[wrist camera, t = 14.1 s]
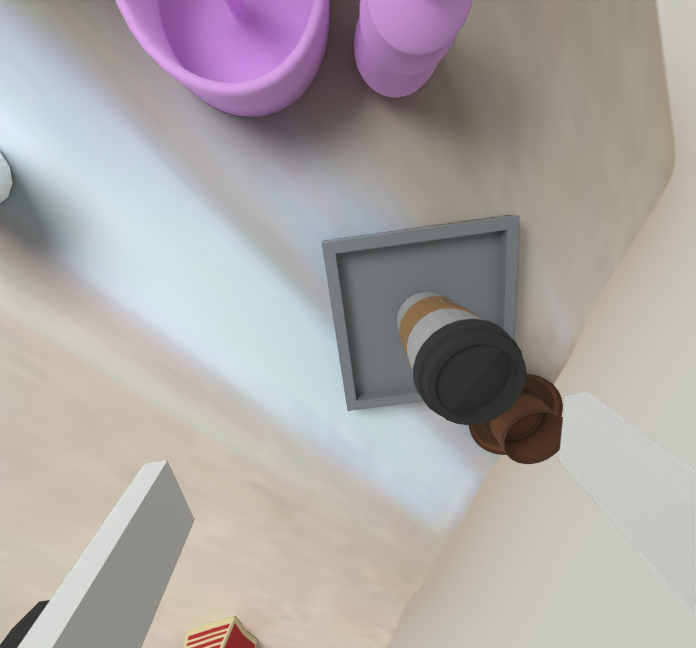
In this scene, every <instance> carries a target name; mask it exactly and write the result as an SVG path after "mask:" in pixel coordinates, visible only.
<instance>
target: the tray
mask: <svg viewBox="0 0 696 648" xmlns="http://www.w3.org/2000/svg"><path fill="white" fill-rule="evenodd" d="M519 217H520V216H513V215H505V216H498V217H491V218H484V219H476V220H469V221H462V222H455V223H447V224H440V225H433V226H426V227H418V228H411V229H404V230H397V231H390V232H382V233H375V234H368V235H361V236H353V237H346V238H339V239H332V240H324V241H322V247H323V253H324V260H325V266H326V273H327V279H328V286H329V292H330V299H331V305H332V312H333V319H334V325H335V332H336V338H337V345H338V351H339V358H340V364H341V371H342V377H343V384H344V390H345V397H346V403H347V410H348V411H351V410H358V409H365V408H373V407H380V406H387V405H395V404H402V403H409V402H417V401H424V400H423V399H422V397H421V396H420V395H419V393H418V392H417V390H416V387H415V384H414V381H413V371H412V369H411V367H410V365H409V362H408V359H407V356H406V353H405V350H404V347H403V344H402V341H401V338H400V333H399V330H398V327H397V315H398V311H399V309H400V307H401V306H402V304H403V303H404V302H405V301H406V300H407V299H408V298H410V297H411V296H413V295H415V294H418V293H421V292H433V293H436V294H439V295H441V296H443V297H445V298H447V299H450V300H451V301H453V302H455V303H457V304H458V305H460V306H462V307H464V308H466V309H467V310H469V311H471V312H473V313H474V314H476V315H478V316H479V317H480V318H481V319H483V320H487V321H489V322H492V323H494V324H496V325H498V326H500V327H501V328H502V329H503V330H504V331H506V332H507V333H508V334H509V336H510V337H511V338H512V339H514V327H515V305H516V283H517V261H518V239H519Z"/></svg>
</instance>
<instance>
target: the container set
mask: <svg viewBox="0 0 696 648" xmlns="http://www.w3.org/2000/svg"><path fill="white" fill-rule="evenodd" d="M115 1H116V4H117V6H118V8H119V10H120V11H121V13H122V15H123V17H124V19H125V21H126V23H127V25H128V27H129V29H130V30H131V32H132V33H133V35H134V36H135V38H136V39H137V40H138V42H139V43H140V45H141V46H142V47H143V49H144V50H145V51H146V52H147V53H148V54H149V55H150V56H151V57H152V58H153V59H154V61H155V62H156V63H157V64H158V65H159V66H160V67H161V68H162V69H164V70H165V71H166V72H167V73H169V74H170V75H171V76H172V77H174V78H175V79H176V80H177V81H179V82H180V83H181V84H182V85H184V86H185V87H186V88H187V89H189V90H190V91H191V92H192V93H194V94H195V95H196V96H198V97H199V98H200V99H202V100H203V101H204V102H206V103H207V104H208V105H210V106H212V107H214V108H216V109H218V110H221V111H223V112H225V113H228V114H232V115H236V116H240V117H261V116H266V115H271V114H274V113H276V112H278V111H281V110H283V109H285V108H287V107H288V106H290V105H291V104H292V103H294V102H295V101H296V100H298V99H299V98H300V97H301V96H302V95H303V94H304V92H305V91H306V90H307V89H308V88H309V87H310V85H311V84H312V82H313V80H314V79H315V77H316V75H317V73H318V71H319V70H320V67H321V64H322V62H323V59H324V56H325V53H326V49H327V43H328V36H329V0H115ZM471 3H472V0H361V1H360V16H359V19H358V22H357V25H356V30H355V35H354V54H355V61H356V64H357V67H358V70H359V72H360V74H361V76H362V78H363V79H364V81H365V82H366V83H367V84H368V86H370V87H371V88H372V89H373V90H374V91H376V92H377V93H379V94H381V95H384V96H388V97H403V96H407V95H409V94H412V93H414V92H415V91H417V90H418V89H420V88H421V87H422V86H423V85H424V84H425V83H426V82H427V81H428V79H429V78H430V77H431V75H432V74H433V72H434V71H435V69H436V67H437V64H438V62H439V61H440V60H441V59H442V58H443V57H444V56H445V55H446V54H447V52H448V51H449V49H450V48H451V46H452V45H453V42H454V40H455V38H456V36H457V33H458V31H459V30H460V28H461V27H462V25H463V24H464V22H465V20H466V18H467V15H468V13H469V11H470V7H471Z"/></svg>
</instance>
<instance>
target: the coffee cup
mask: <svg viewBox="0 0 696 648" xmlns="http://www.w3.org/2000/svg"><path fill="white" fill-rule="evenodd" d="M397 327H398V330H399V333H400V338H401V341H402V344H403V347H404V350H405V353H406V356H407V359H408V362H409V365H410V367H411V369H412V371H413V381H414V384H415V387H416V390H417V392H418V393H419V395H420V396H421V397H422V399H423V400H424V402H425V403H426V404H427V406H428V407H429V408H430V409H431V410H433V411H434V412H435V413H437V414H438V415H440V416H442V417H444V418H445V419H446V420H449V421H451V422H454V423H457V424H464V425H475V424H482V423H485V422H488V421H491V420H494V419H496V418H497V417H499V416H501V415H502V414H504V413H505V412H507V411H508V410H509V409H510V408H511V407H512V406H513V405H514V404H515V403H516V401H517V400H518V398H519V397H520V395H521V394H522V391H523V388H524V386H525V383H526V372H527V371H526V367H525V362H524V359H523V357H522V353H521V350H520V349H519V347H518V345H517V344H516V342H515V340H514V339H512V338H511V337H510V336H509V334H508V333H507V332H506V331H504V330H503V329H502V328H501V327H500V326H498V325H496V324H494V323H492V322H489V321H487V320H483V319H481V318H480V317H479V316H478V315H476V314H474V313H473V312H471V311H469V310H467V309H466V308H464V307H462V306H460V305H458V304H457V303H455V302H453V301H451V300H450V299H447V298H445V297H443V296H441V295H439V294H436V293H433V292H421V293H418V294H415V295H413V296H411V297H410V298H408V299H407V300H406V301H405V302H404V303H403V304H402V306H401V307H400V309H399V311H398V315H397Z"/></svg>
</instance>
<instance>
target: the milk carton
mask: <svg viewBox="0 0 696 648" xmlns="http://www.w3.org/2000/svg"><path fill="white" fill-rule="evenodd" d="M256 644H257V640H256V639H255V638H254V637H253V636H252V635H250V634H249V633H248V632H247V631H246V630H245V629H244V628H243V626H242V625H241V623H240V622H239V621H238V619H237V618H236V616H233V617H230V618H226V619H223V620H220V621H216V622H213V623H210V624H207V625H204V626H201V627H198V628H195V629H192V630H189V631H187V632H186V637H185V642H184V647H183V648H256Z"/></svg>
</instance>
